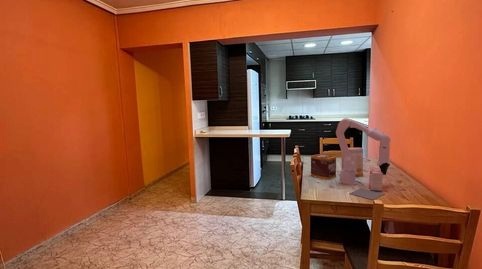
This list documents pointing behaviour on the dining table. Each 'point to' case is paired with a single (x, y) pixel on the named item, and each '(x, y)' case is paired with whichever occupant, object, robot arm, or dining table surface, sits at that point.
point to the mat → (367, 194)
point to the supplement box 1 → (323, 166)
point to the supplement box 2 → (375, 181)
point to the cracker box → (356, 160)
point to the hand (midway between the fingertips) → (383, 174)
